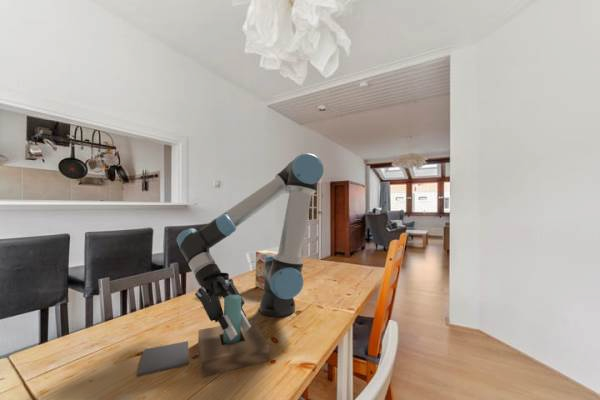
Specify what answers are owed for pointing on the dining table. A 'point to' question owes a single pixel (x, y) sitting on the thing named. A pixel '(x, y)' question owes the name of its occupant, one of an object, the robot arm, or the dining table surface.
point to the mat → (163, 358)
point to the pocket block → (230, 350)
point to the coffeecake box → (261, 266)
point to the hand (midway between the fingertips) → (241, 333)
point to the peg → (233, 316)
